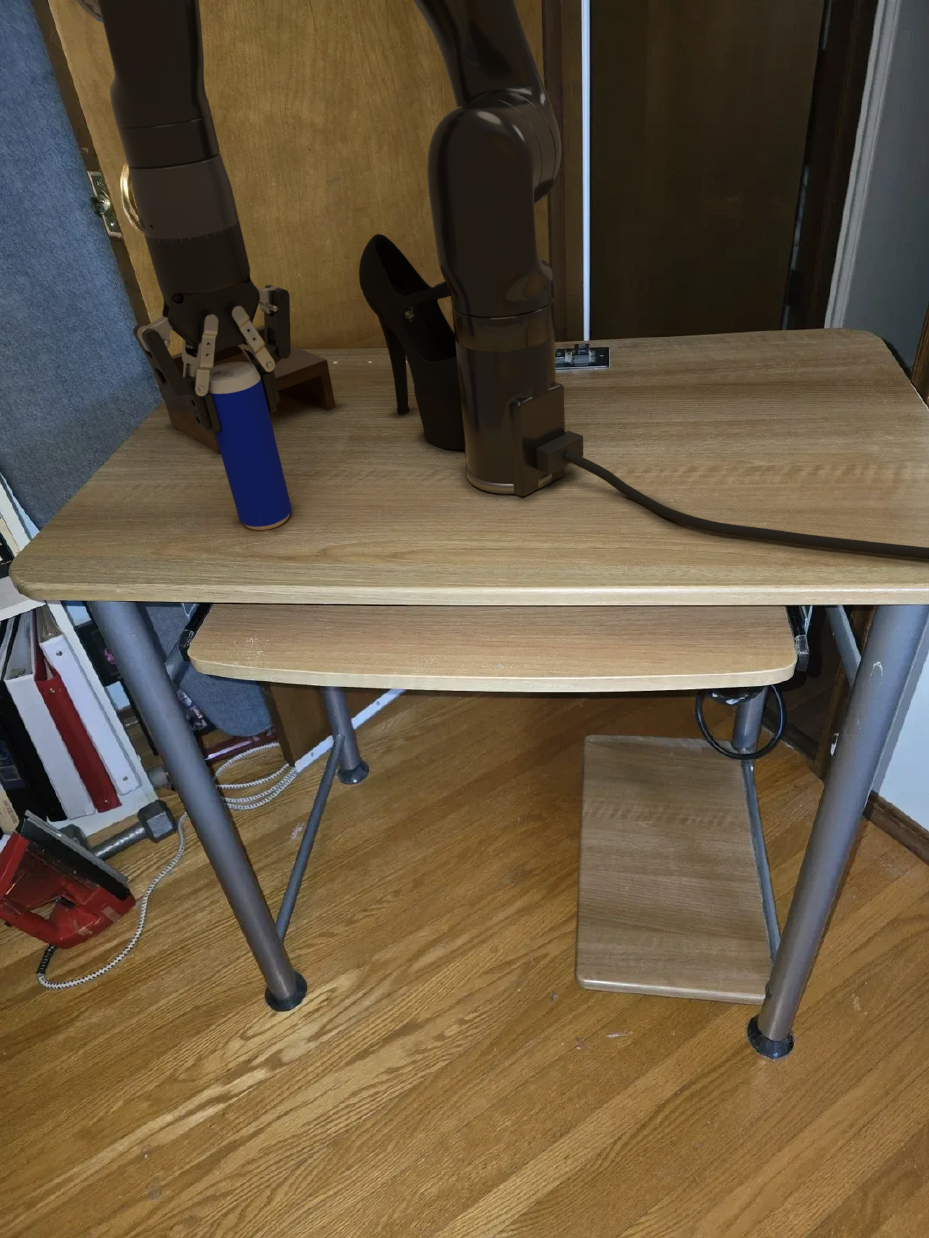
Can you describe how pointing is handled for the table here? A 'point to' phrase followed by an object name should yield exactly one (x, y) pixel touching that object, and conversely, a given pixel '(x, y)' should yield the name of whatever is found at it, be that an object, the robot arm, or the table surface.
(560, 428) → the robot arm
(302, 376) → the shelf
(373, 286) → the high-heeled shoe
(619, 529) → the table surface
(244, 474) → the beverage can
